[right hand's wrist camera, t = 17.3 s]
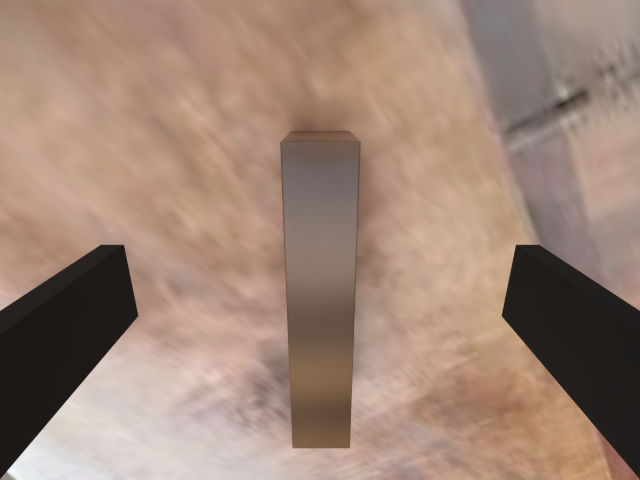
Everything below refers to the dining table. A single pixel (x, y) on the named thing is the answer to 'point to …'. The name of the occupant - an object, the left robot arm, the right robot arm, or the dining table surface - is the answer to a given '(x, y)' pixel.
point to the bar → (320, 281)
